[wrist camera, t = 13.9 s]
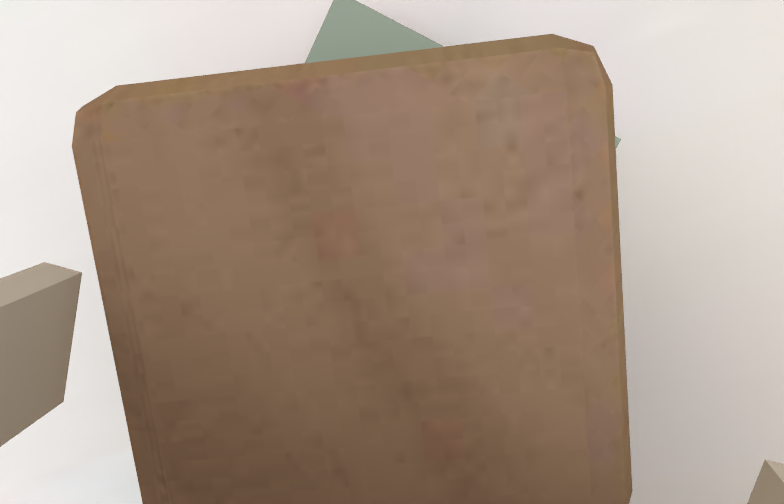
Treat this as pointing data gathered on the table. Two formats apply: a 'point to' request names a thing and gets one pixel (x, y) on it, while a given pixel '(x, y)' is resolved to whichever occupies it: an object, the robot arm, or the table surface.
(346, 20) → the tower top
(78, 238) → the table surface
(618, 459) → the block
